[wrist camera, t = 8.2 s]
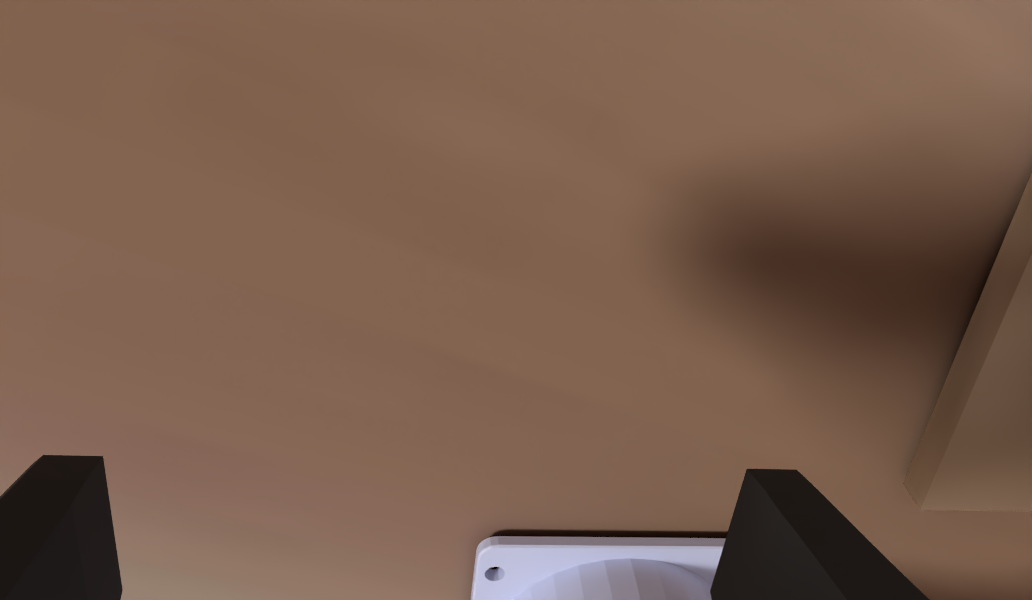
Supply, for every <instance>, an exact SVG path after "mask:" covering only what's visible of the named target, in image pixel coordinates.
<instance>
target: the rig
mask: <svg viewBox="0 0 1032 600" xmlns="http://www.w3.org/2000/svg"><path fill="white" fill-rule="evenodd" d="M903 484H904V485H905V487H906V489H907V490H908V492H909V493H910V495H911V496H912V498H913V500H914V501H915V503H916V504H917V506H918V508H919V509H920V510H953V511H1026V512H1032V173H1031V176H1030V178H1029V181H1028V183H1027V185H1026V188H1025V190H1024V193H1023V195H1022V197H1021V200H1020V202H1019V205H1018V207H1017V209H1016V212H1015V214H1014V217H1013V219H1012V221H1011V224H1010V226H1009V229H1008V231H1007V234H1006V236H1005V238H1004V241H1003V243H1002V246H1001V248H1000V250H999V253H998V255H997V258H996V260H995V262H994V265H993V267H992V270H991V272H990V274H989V277H988V279H987V282H986V284H985V287H984V289H983V291H982V294H981V296H980V299H979V301H978V303H977V306H976V308H975V311H974V313H973V315H972V318H971V320H970V323H969V325H968V328H967V330H966V332H965V335H964V337H963V340H962V342H961V344H960V347H959V349H958V352H957V354H956V356H955V359H954V361H953V364H952V366H951V368H950V371H949V373H948V376H947V378H946V381H945V383H944V385H943V388H942V390H941V393H940V395H939V397H938V400H937V402H936V405H935V407H934V409H933V412H932V414H931V417H930V419H929V422H928V424H927V426H926V429H925V431H924V434H923V436H922V438H921V441H920V443H919V446H918V448H917V450H916V453H915V455H914V458H913V460H912V462H911V465H910V467H909V470H908V472H907V475H906V477H905V479H904V482H903Z"/></svg>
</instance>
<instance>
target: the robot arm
mask: <svg viewBox="0 0 1032 600" xmlns="http://www.w3.org/2000/svg"><path fill="white" fill-rule="evenodd" d="M491 567H500V568H498V569H494V570H492V569H489V568H491ZM121 594H122V584H121V577H120V570H119V564H118V557H117V550H116V543H115V536H114V529H113V522H112V516H111V509H110V502H109V495H108V488H107V481H106V474H105V468H104V461H103V456H62V455H43V456H41V457H40V458H39V459H38V460H37V461H35V462H34V463H33V464H32V465H31V466H30V467H29V468H28V469H27V470H26V471H25V472H24V473H23V474H22V475H21V476H20V477H19V478H18V479H17V480H16V481H15V482H14V483H13V484H12V485H11V486H10V487H9V488H8V489H7V490H6V491H5V492H4V493H3V494H2V495H1V496H0V600H120V599H121ZM471 600H929V599H928V598H927V597H926V596H925V595H924V594H923V593H922V592H921V591H920V590H919V589H918V588H916V587H915V586H914V585H913V584H912V583H911V582H910V581H909V580H908V579H907V578H906V577H905V576H904V575H903V574H902V573H901V572H900V571H899V570H898V569H897V568H896V567H895V566H894V565H893V564H892V563H891V562H890V561H889V560H888V559H887V558H886V557H885V556H884V555H883V554H882V553H881V552H880V551H879V550H878V549H877V548H876V547H874V546H873V545H872V544H871V543H870V542H869V541H868V540H867V539H866V538H865V537H864V536H863V535H862V534H861V533H860V532H859V531H858V530H857V529H856V528H855V527H854V526H853V525H852V524H851V523H850V522H849V521H848V520H847V519H846V518H845V517H844V516H843V515H842V514H841V513H840V512H839V511H838V510H837V509H836V508H835V507H834V506H833V505H832V504H831V503H830V502H829V501H828V500H827V499H826V498H825V497H824V496H823V495H822V494H821V493H820V492H819V491H818V490H817V489H816V488H815V487H814V486H813V485H812V484H811V483H810V482H809V481H808V480H807V479H806V478H805V477H804V476H803V475H802V474H800V473H799V472H798V471H797V470H781V469H747V470H746V473H745V477H744V480H743V483H742V487H741V490H740V493H739V497H738V500H737V503H736V507H735V510H734V513H733V516H732V520H731V523H730V526H729V530H728V533H727V536H726V538H641V537H533V536H495V537H489V538H487V539H485V540H483V541H482V542H481V543H480V544H479V545H478V547H477V550H476V558H475V567H474V575H473V583H472V592H471Z"/></svg>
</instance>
